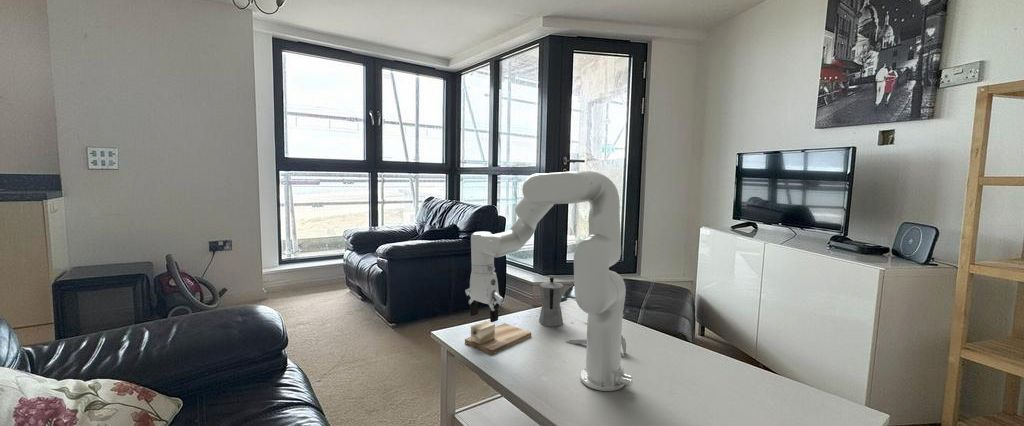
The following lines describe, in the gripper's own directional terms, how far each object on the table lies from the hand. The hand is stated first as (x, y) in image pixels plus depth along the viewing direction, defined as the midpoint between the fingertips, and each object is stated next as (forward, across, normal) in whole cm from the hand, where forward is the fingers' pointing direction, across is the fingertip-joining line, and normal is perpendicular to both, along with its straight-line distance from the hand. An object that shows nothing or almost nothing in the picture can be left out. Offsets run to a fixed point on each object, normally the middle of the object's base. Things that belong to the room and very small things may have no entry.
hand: (484, 318), depth 143 cm
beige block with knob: (+8, +1, 0) cm, 8 cm away
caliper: (+11, -29, -24) cm, 39 cm away
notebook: (+9, -1, -6) cm, 11 cm away
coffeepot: (+10, -5, -31) cm, 33 cm away
